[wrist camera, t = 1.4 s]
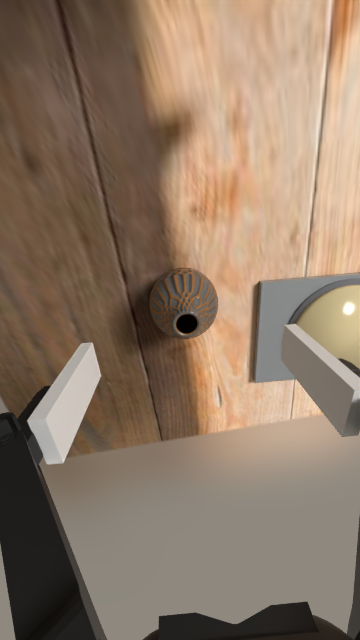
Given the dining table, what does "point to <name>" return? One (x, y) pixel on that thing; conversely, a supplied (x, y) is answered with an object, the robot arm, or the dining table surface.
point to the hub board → (307, 319)
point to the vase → (183, 303)
